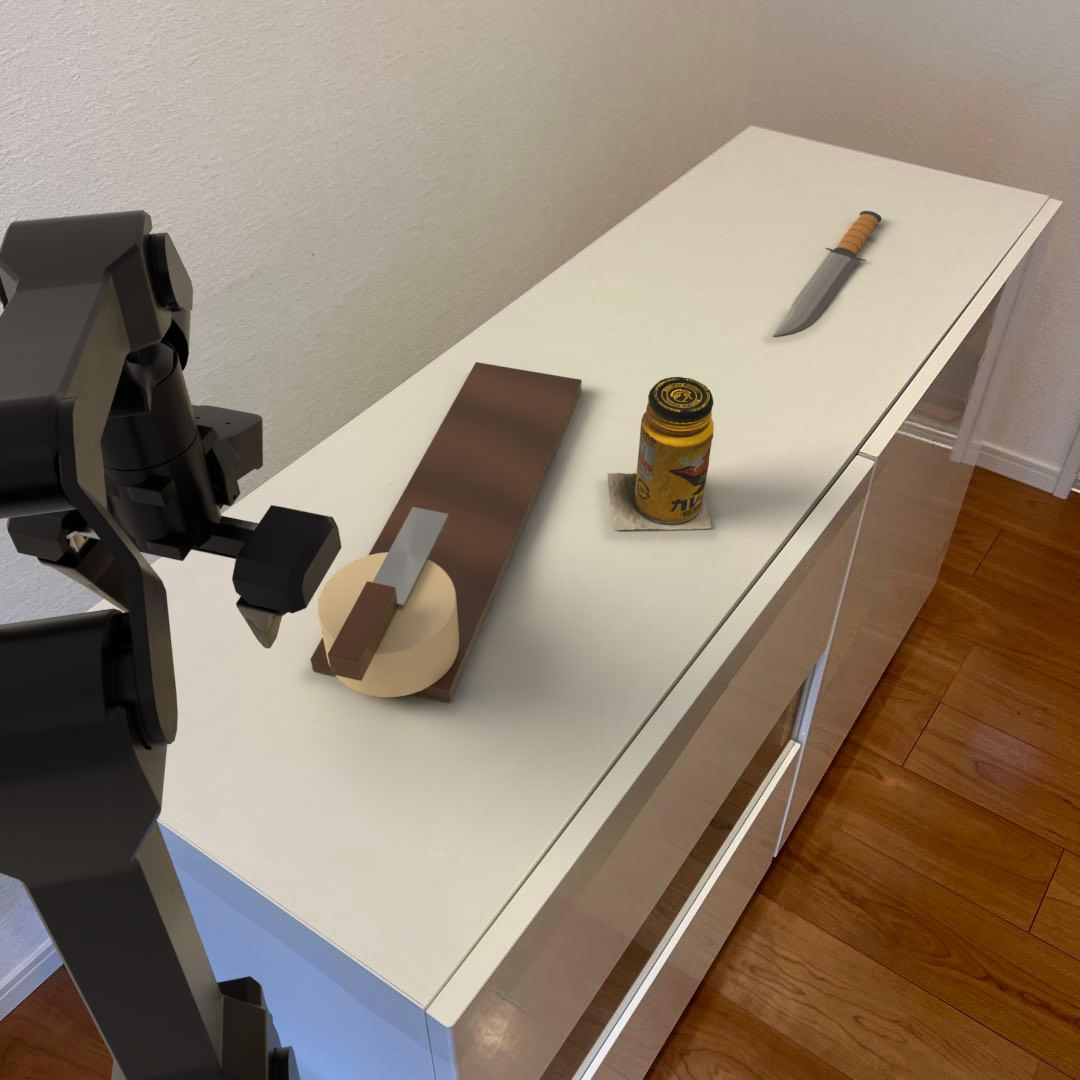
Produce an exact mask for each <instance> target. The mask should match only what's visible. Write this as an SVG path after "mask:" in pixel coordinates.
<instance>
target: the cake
mask: <svg viewBox="0 0 1080 1080" xmlns="http://www.w3.org/2000/svg"><path fill="white" fill-rule="evenodd" d="M387 554H388V552H385V553H377V554H373V555H369V554H368V555H366V556H365V555H364V556H362V557H360V558H357V559H355V560H353V561H351V562H349V563H346V564H345V565H344V566H342V567H341V568H339V569H338V570H337V571H336V572H335V573H334V574H332V576H330V578H329V579H328V580H327V581H326V583H325V584H324V586H323V587H322V590H321V591H320V594H319V596H318V597H319V598H318V601H317V616H318V620H319V625H320V630H321V634H322V635H321V636H322V637H323V640H324V645H325V650H326V654H327V659H328V652H329V651H330V649H331V647H332V645H333V643H334V641H335V639H336V638H337V636H338V634H339V632H340V630H341V628H342V627H343V625H344V623H345V621H346V619H347V617H348V615H349V614H350V612H351V610H352V608H353V606H354V604H355V603H356V601H357V599H358V597H359V595H360V593H361V591H362V590H363V588H364V586H365V584H366V582H367V581H369V582H373V580H374V578H375V576H376V574H377V573H378V571H379V569H380V567H381V565H382V563H383V561H384V560H385V558H386V556H387ZM458 649H459V629H458V615H457V601H456V592H455V588H454V585H453V582H452V581H451V579H450V577H449V576H448V575H447V573H446V572H445V571H444V570H443V569H442V568H441V567H440V566H438V565H437V564H435V563H434V562H432V561H430V560H427V562H426V564H425V566H424V568H423V571H422V573H421V575H420V577H419V579H418V581H417V583H416V585H415V587H414V589H413V591H412V593H411V595H410V597H409V599H408V601H407V603H406V605H405V607H404V608H399V607H398V609H397V611H396V613H395V615H394V617H393V619H392V621H391V623H390V625H389V627H388V629H387V631H386V633H385V635H384V637H383V639H382V641H381V643H380V645H379V647H378V649H377V651H376V653H375V655H374V657H373V659H372V661H371V663H370V665H369V667H368V669H367V671H366V673H365V675H364V677H363V679H362V681H358V680H354V679H350V678H345V677H341V676H337V675H335V676H336V677H335V676H334V677H335V678H337V679H338V680H339V681H340V682H341V683H342V684H343V685H345V687H348V688H349V689H351V690H352V691H355V692H357V693H360V694H362V695H365V696H369V697H375V698H397V697H404V696H405V697H406V696H408V695H413V693H415V692H418V691H421V690H423V689H425V688H427V687H429V686H431V685H432V684H434V683H435V682H437V681H438V680H439V679H440V678H442V677H443V676H444V675H445V674H446V672H447V671H448V670H449V669H450V667H451V666H452V665H453V663H454V661H455V659H456V656H457V653H458ZM328 663H329V659H328ZM329 665H330V663H329Z"/></svg>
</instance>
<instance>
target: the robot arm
mask: <svg viewBox="0 0 1080 1080" xmlns="http://www.w3.org/2000/svg"><path fill="white" fill-rule="evenodd" d="M152 230H153V222H152V216H151V215H150V214H149V213H148V212H147V211H145V210H144V209H138V210H137V209H136V210H124V211H115V212H103V213H91V214H81V215H79V214H78V215H70V216H68V215H67V216H57V217H48V218H36V219H25V220H15V221H12V222H11V223H10V224H9V225H8V227H7V228H6V230H5V232H4V235H3V238H2V241H1V245H0V303H1V304H2V308H3V310H2V312H1V314H0V520H3V519H6V524H5V525H6V529H7V532H8V535H9V536H10V539H11V541H12V543H13V546H14V547H15V549H16V552H17V553H18V554H21V555H27V556H31V557H36V559H37V561H38V562H39V563H40V564H41V565H42V566H47V567H50V568H52V569H54V570H56V571H57V572H59V573H61V574H62V575H63V576H66V577H68V578H69V579H71V580H73V581H74V582H75V583H78V584H79V585H81V586H83V587H84V588H86V589H88V590H89V591H91V592H93V593H94V594H96V595H98V596H99V597H101V598H102V599H104V600H105V601H107V602H108V603H110V604H111V605H113V606H114V607H116V608H108V609H107V608H106V609H99V610H93V611H87V612H80V613H78V612H77V613H73V614H66V615H64V614H63V615H57V616H51V617H50V616H49V617H45V618H37V619H30V620H23V621H15V622H9V623H2V624H1V623H0V874H1V875H5V876H7V877H10V878H13V879H15V880H18V881H19V882H20V884H21V885H22V887H23V889H24V890H25V892H26V894H27V897H29V900H30V902H31V903H32V906H33V907H34V909H35V911H36V913H37V915H38V917H39V919H40V921H41V923H42V925H43V926H44V929H45V931H46V933H47V934H48V936H49V938H50V940H51V942H52V944H53V945H54V947H55V950H56V952H57V953H58V956H59V957H60V959H61V961H62V964H63V965H64V967H65V969H66V971H67V973H68V975H69V977H70V979H71V980H72V982H73V984H74V986H75V988H76V990H77V993H78V994H79V996H80V998H81V1000H82V1002H83V1004H84V1006H85V1007H86V1010H87V1011H88V1013H89V1015H90V1017H91V1019H92V1021H93V1023H94V1025H95V1027H96V1028H97V1031H98V1033H99V1035H100V1036H101V1038H102V1040H103V1042H104V1044H105V1046H106V1048H107V1050H108V1052H109V1054H110V1056H111V1057H112V1060H113V1061H112V1062H113V1063H112V1071H111V1079H110V1080H301V1077H300V1072H299V1067H298V1063H297V1059H296V1054H295V1051H294V1048H293V1046H292V1045H289V1046H288V1045H287V1046H283V1047H282V1043H281V1039H280V1035H279V1032H278V1030H277V1028H276V1026H275V1024H274V1018H273V1017H274V1016H273V1014H272V1013H271V1012H270V1010H269V1008H268V1005H267V1002H266V997H265V994H264V993H265V992H264V990H263V986H262V984H261V983H260V982H258V981H257V980H256V979H255V978H253V977H252V976H251V975H247V976H243V977H242V976H241V977H239V978H233V979H227V980H223V981H218V980H217V979H216V976H215V973H214V970H213V968H212V964H211V962H210V960H209V957H208V954H207V951H206V949H205V946H204V943H203V941H202V938H201V936H200V933H199V930H198V927H197V925H196V922H195V919H194V917H193V914H192V910H191V909H190V906H189V902H188V901H187V900H188V899H187V898H186V895H185V893H184V889H183V886H182V884H181V881H180V879H179V876H178V873H177V871H176V868H175V866H174V862H173V860H172V858H171V857H172V856H171V855H170V851H169V849H168V846H167V844H166V841H165V838H164V836H163V833H162V830H161V827H160V825H159V821H158V819H159V817H160V815H161V813H162V808H163V795H164V786H165V775H166V774H165V773H166V765H167V764H166V762H167V753H168V752H167V751H168V745H171V744H173V743H174V742H175V741H176V737H177V733H178V722H179V721H178V717H179V711H178V694H177V683H176V674H175V664H174V663H175V662H174V655H173V654H174V653H173V643H172V636H171V635H172V633H171V625H170V613H169V605H168V595H167V589H166V586H165V584H164V581H163V580H162V579H161V577H160V576H159V574H157V572H156V571H155V570H154V568H153V567H152V566H151V564H150V563H149V562H148V560H147V559H146V558H145V557H144V555H143V554H146V555H152V556H156V557H160V558H161V557H162V558H166V559H169V560H170V559H171V560H175V561H180V562H184V561H185V559H186V558H187V557H188V555H189V554H190V552H191V551H195V552H200V553H205V554H210V555H215V556H218V557H219V556H220V557H223V558H224V557H225V558H229V559H234V560H235V561H234V567H233V571H232V576H231V580H232V584H233V588H234V591H235V593H236V594H237V595H239V598H238V600H237V601H236V603H235V606H236V608H237V609H238V612H240V614H241V616H242V617H243V619H244V620H245V622H246V624H247V625H248V627H249V629H250V631H251V632H252V634H253V635H254V637H255V639H256V640H257V642H258V643H259V644H260V645H261V646H262V647H263V648H264V649H269V650H270V649H271V648H272V647H273V645H274V643H275V641H276V640H277V637H278V634H279V630H280V626H281V623H282V619H283V616H285V615H286V614H288V613H289V614H295V613H298V612H300V611H303V610H305V609H307V607H308V606H309V604H310V602H311V601H312V599H313V597H314V595H315V594H316V592H317V590H318V589H319V587H320V586H321V583H322V582H323V580H324V579H325V578H326V577H325V576H326V575H327V574H328V572H329V570H330V568H331V567H332V565H333V563H334V561H335V560H336V558H337V556H338V554H339V553H340V552H341V550H342V541H341V535H340V530H339V527H338V524H337V522H336V521H335V518H334V516H330V515H325V514H320V513H316V512H311V511H306V510H300V509H295V508H291V507H286V506H282V505H281V506H280V505H273V504H271V505H270V506H269V507H268V509H267V510H266V511H265V513H264V515H263V516H262V518H261V519H260V521H259V522H254V521H251V520H250V521H249V520H244V519H239V518H235V517H229V516H225V515H222V511H221V510H222V508H223V507H224V506H228V507H232V506H233V505H234V503H235V502H236V501H237V499H238V498H239V496H240V495H241V489H240V487H239V486H240V485H239V482H238V481H239V480H240V479H242V478H244V477H245V476H246V475H248V474H249V473H251V472H253V471H254V470H256V471H258V470H260V469H262V467H263V466H264V434H263V433H264V432H263V431H264V427H263V426H264V425H263V421H264V420H263V416H261V415H259V414H257V413H256V414H255V413H253V412H247V411H242V410H236V409H230V408H224V407H220V406H215V405H214V406H213V405H207V404H205V405H204V404H203V405H201V404H200V405H196V404H192V401H191V398H190V395H189V390H188V387H187V383H186V380H185V376H184V371H185V369H186V367H187V364H188V361H189V356H190V338H191V337H190V336H191V319H192V318H191V317H192V316H191V315H192V311H193V305H194V304H193V303H194V302H193V301H194V287H193V283H192V279H191V277H190V275H189V273H188V271H187V269H186V267H185V265H184V263H183V260H182V258H181V256H180V254H179V252H178V250H177V248H176V246H175V243H174V241H173V239H172V237H171V236H170V234H169V232H157V233H155V232H154V233H151V232H152Z"/></svg>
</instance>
